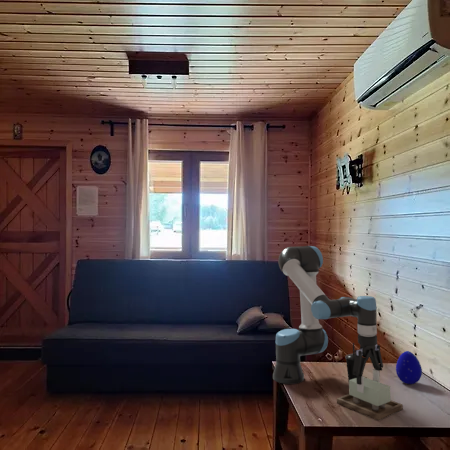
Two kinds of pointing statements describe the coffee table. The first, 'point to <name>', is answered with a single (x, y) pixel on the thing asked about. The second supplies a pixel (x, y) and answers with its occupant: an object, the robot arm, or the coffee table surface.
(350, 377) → the drinking cup
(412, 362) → the ornament
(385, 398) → the grey boxy block
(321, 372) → the coffee table surface
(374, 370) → the robot arm
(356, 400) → the peg frame
